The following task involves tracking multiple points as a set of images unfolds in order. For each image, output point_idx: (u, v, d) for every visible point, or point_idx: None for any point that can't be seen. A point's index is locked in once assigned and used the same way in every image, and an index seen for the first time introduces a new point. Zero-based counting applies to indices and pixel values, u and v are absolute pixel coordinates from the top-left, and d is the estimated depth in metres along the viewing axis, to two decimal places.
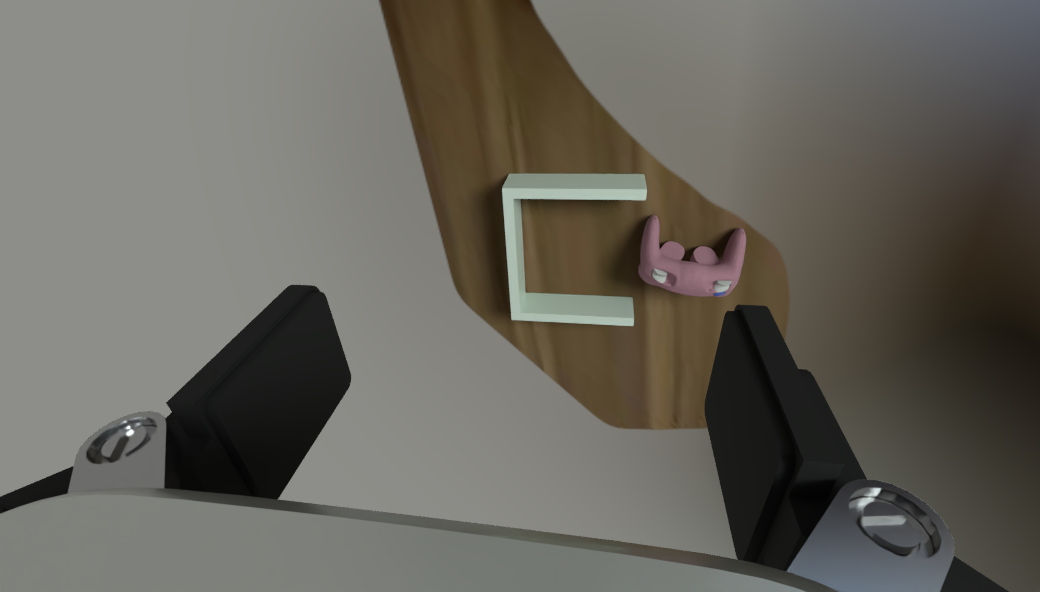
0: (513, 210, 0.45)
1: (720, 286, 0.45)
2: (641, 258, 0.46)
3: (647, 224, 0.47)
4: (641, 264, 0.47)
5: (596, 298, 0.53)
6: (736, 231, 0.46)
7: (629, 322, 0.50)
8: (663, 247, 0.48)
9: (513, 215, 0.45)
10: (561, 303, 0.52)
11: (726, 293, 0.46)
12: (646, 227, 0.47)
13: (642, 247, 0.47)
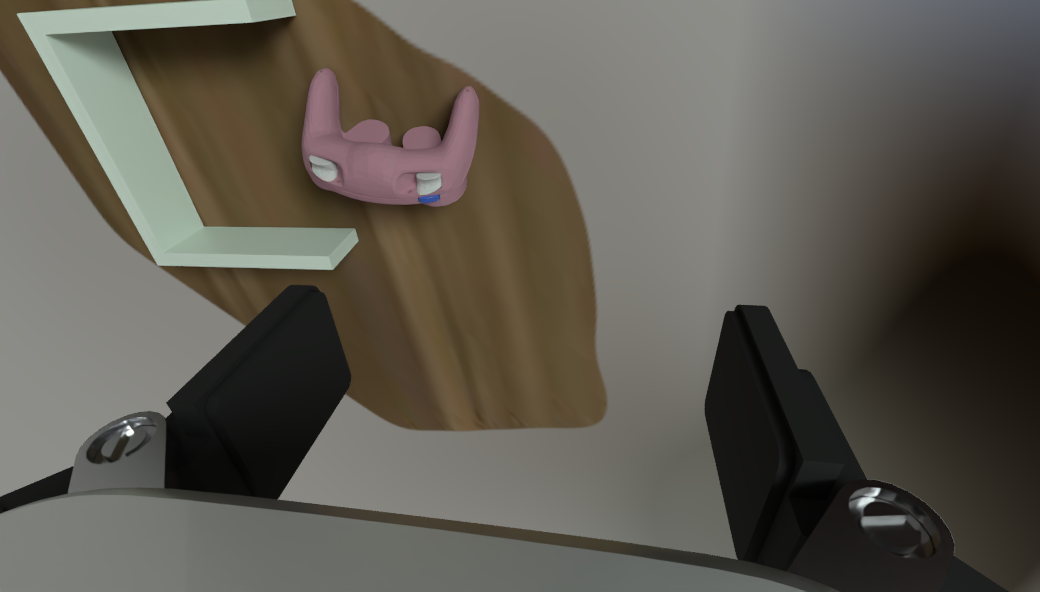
0: (59, 60, 0.26)
1: (423, 184, 0.26)
2: None
3: None
4: None
5: (299, 231, 0.34)
6: (461, 91, 0.27)
7: (324, 263, 0.31)
8: (354, 128, 0.28)
9: (63, 70, 0.26)
10: (240, 239, 0.33)
11: (445, 199, 0.27)
12: None
13: None
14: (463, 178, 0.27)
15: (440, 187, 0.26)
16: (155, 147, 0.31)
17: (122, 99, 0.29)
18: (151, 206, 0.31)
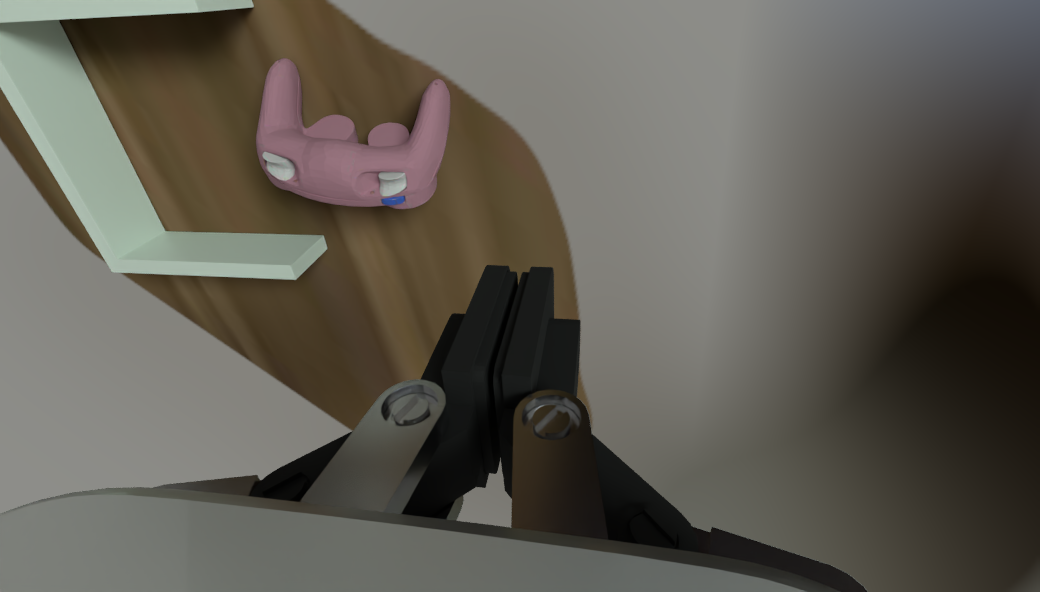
0: None
1: (386, 184, 0.23)
2: None
3: None
4: None
5: (264, 237, 0.32)
6: None
7: (287, 273, 0.29)
8: (317, 124, 0.26)
9: (1, 62, 0.24)
10: (200, 245, 0.31)
11: (411, 201, 0.24)
12: None
13: None
14: (431, 179, 0.24)
15: (405, 188, 0.24)
16: (110, 147, 0.29)
17: (71, 95, 0.27)
18: (104, 209, 0.29)
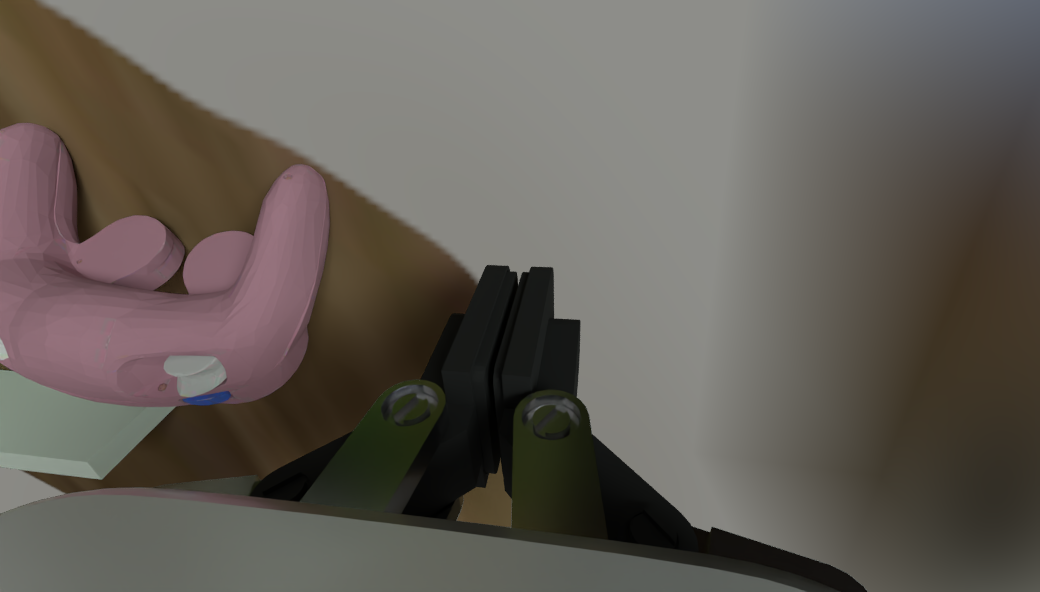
0: None
1: (184, 376, 0.12)
2: None
3: None
4: None
5: None
6: None
7: (85, 471, 0.17)
8: (100, 234, 0.15)
9: None
10: None
11: (246, 394, 0.13)
12: None
13: None
14: (285, 352, 0.13)
15: (224, 380, 0.12)
16: None
17: None
18: None
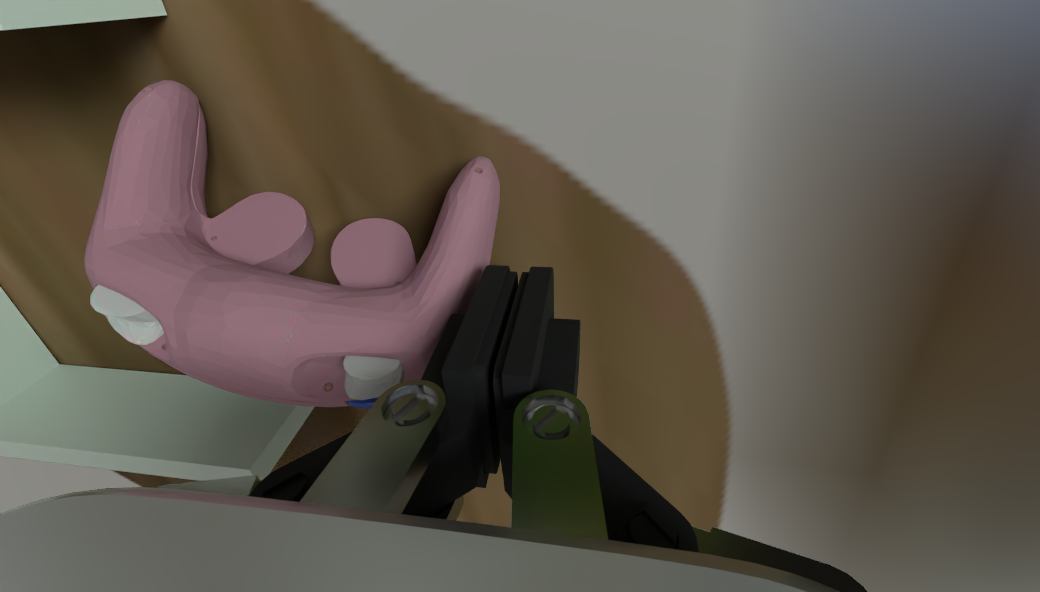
0: None
1: (359, 378, 0.11)
2: None
3: None
4: None
5: (214, 388, 0.19)
6: (464, 167, 0.12)
7: None
8: (234, 210, 0.14)
9: None
10: (106, 404, 0.19)
11: None
12: None
13: None
14: None
15: None
16: None
17: None
18: None
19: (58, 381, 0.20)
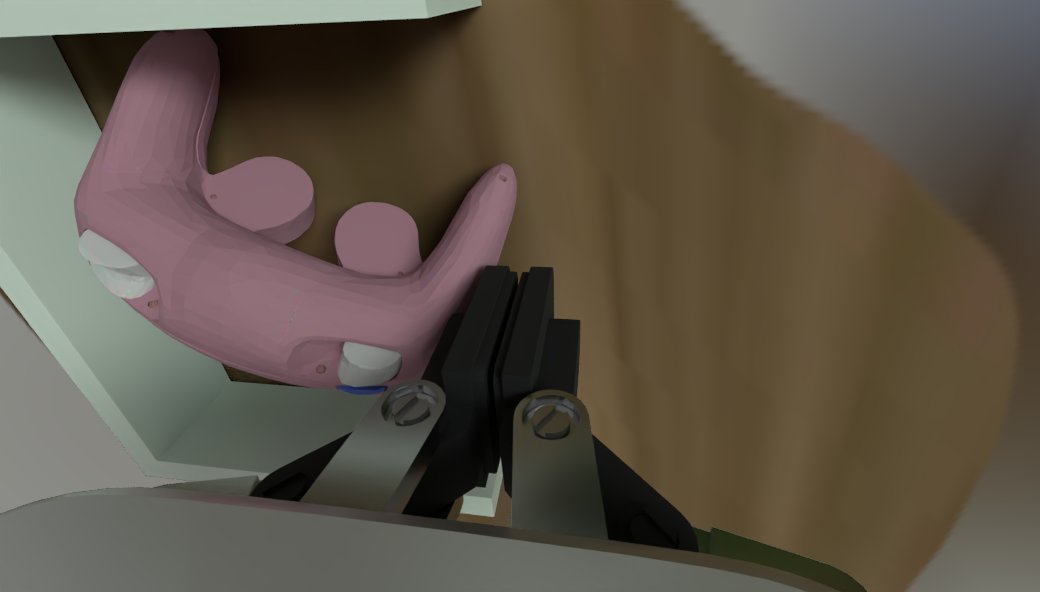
0: None
1: (356, 365, 0.11)
2: None
3: None
4: None
5: None
6: (487, 171, 0.12)
7: (480, 507, 0.15)
8: (237, 170, 0.13)
9: None
10: (301, 425, 0.18)
11: None
12: None
13: None
14: None
15: (393, 376, 0.11)
16: None
17: (75, 180, 0.14)
18: (134, 381, 0.16)
19: (238, 400, 0.19)
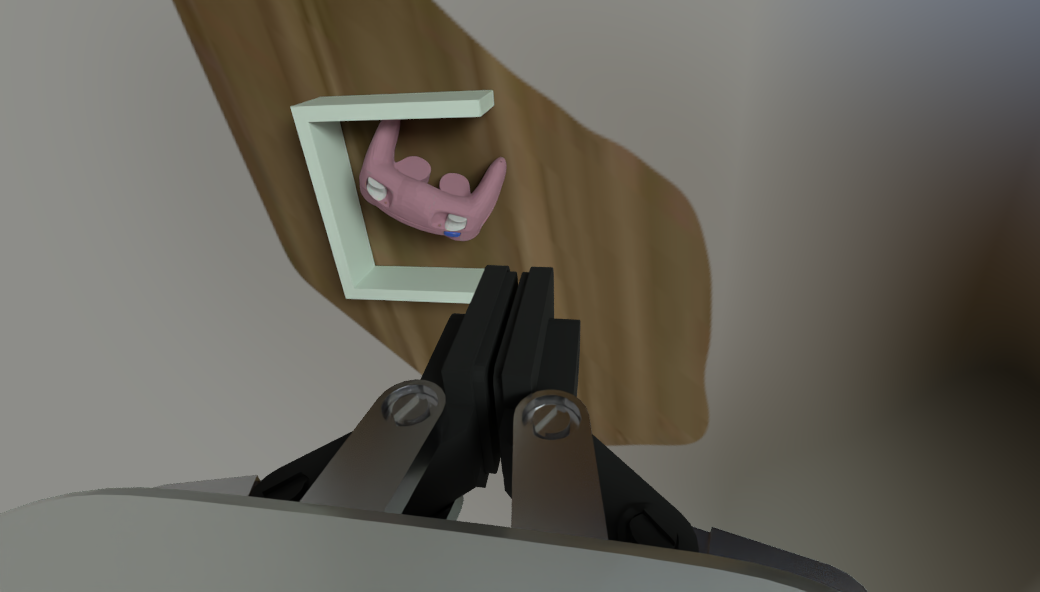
0: (313, 140, 0.33)
1: (451, 223, 0.33)
2: None
3: (382, 120, 0.34)
4: (361, 171, 0.34)
5: (461, 271, 0.40)
6: (495, 160, 0.35)
7: None
8: (404, 160, 0.35)
9: (314, 147, 0.33)
10: (413, 277, 0.40)
11: (463, 237, 0.34)
12: None
13: (368, 149, 0.34)
14: (481, 225, 0.34)
15: (463, 228, 0.34)
16: (354, 202, 0.38)
17: (340, 166, 0.36)
18: (350, 250, 0.38)
19: (381, 271, 0.41)
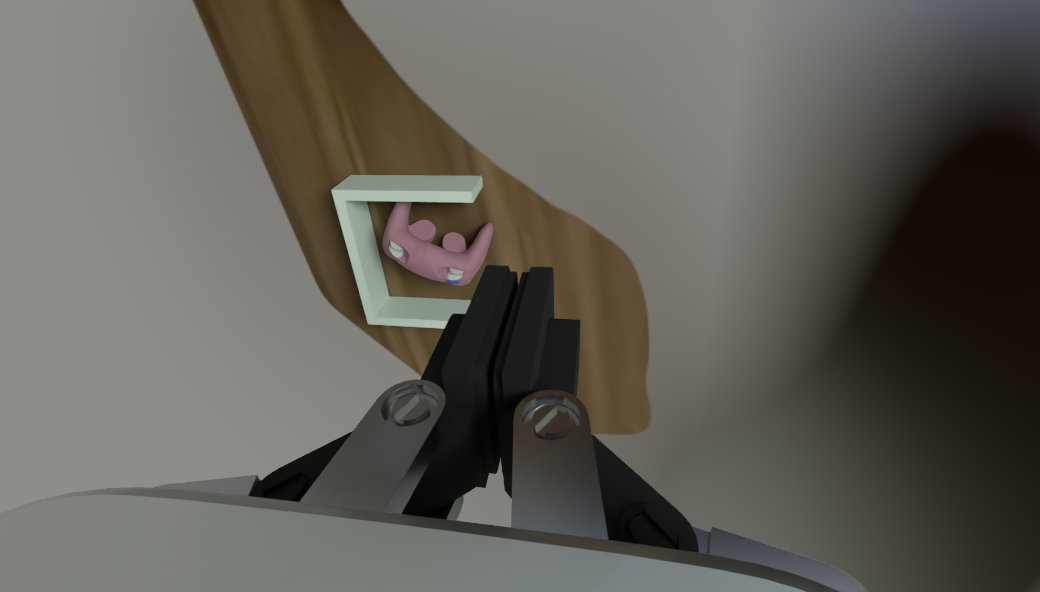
0: (347, 212, 0.44)
1: (452, 274, 0.45)
2: None
3: None
4: (384, 234, 0.45)
5: (457, 302, 0.52)
6: (485, 225, 0.46)
7: None
8: (415, 223, 0.47)
9: (348, 217, 0.44)
10: (420, 307, 0.51)
11: (461, 283, 0.46)
12: None
13: (389, 217, 0.45)
14: (474, 274, 0.46)
15: (461, 278, 0.45)
16: (374, 251, 0.50)
17: (365, 226, 0.47)
18: (371, 288, 0.49)
19: (394, 301, 0.53)
